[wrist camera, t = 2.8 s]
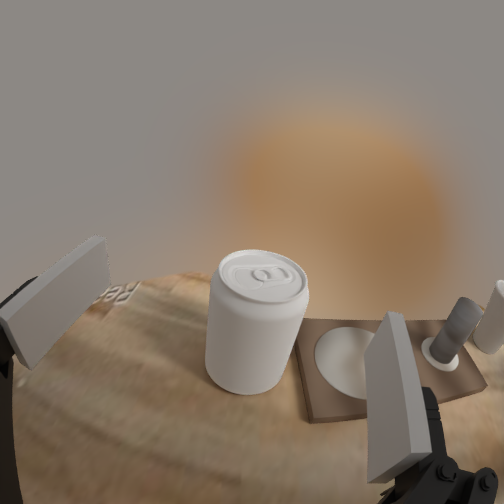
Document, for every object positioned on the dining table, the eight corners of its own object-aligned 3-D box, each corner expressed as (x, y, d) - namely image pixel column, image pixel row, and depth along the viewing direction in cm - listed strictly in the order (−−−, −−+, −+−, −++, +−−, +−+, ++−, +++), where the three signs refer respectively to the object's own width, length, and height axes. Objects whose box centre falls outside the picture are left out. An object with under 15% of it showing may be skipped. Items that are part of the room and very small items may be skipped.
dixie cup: (481, 323, 40) (507, 278, 35) (507, 353, 33) (538, 307, 28) (459, 331, 38) (488, 280, 33) (487, 365, 31) (523, 314, 26)
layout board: (442, 325, 39) (469, 277, 34) (482, 390, 27) (522, 341, 22) (290, 324, 36) (309, 261, 31) (310, 423, 24) (347, 364, 19)
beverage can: (196, 345, 31) (201, 249, 25) (264, 333, 34) (285, 244, 28) (218, 406, 25) (230, 313, 19) (294, 387, 28) (332, 296, 22)
